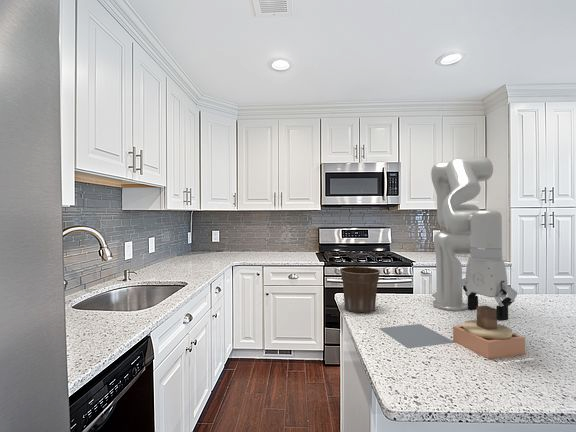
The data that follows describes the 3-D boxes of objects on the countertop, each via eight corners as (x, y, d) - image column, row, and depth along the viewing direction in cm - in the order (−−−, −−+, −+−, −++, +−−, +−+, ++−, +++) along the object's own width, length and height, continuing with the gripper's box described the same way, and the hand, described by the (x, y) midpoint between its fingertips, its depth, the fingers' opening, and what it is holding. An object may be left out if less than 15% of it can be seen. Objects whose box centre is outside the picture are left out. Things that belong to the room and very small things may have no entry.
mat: (378, 330, 101) (378, 328, 101) (420, 325, 105) (420, 323, 105) (407, 350, 86) (407, 348, 86) (455, 344, 89) (455, 342, 89)
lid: (453, 326, 90) (453, 303, 90) (486, 322, 93) (485, 300, 93) (487, 341, 79) (487, 315, 79) (523, 337, 81) (523, 312, 81)
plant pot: (387, 308, 125) (387, 269, 125) (369, 318, 113) (369, 274, 113) (352, 301, 136) (352, 265, 136) (332, 309, 124) (332, 270, 124)
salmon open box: (453, 342, 90) (453, 326, 90) (486, 338, 93) (486, 322, 93) (488, 361, 79) (488, 342, 79) (525, 356, 81) (524, 337, 81)
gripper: (451, 251, 93) (452, 307, 93) (503, 258, 77) (504, 326, 77) (471, 250, 95) (472, 305, 95) (527, 257, 78) (527, 323, 78)
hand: (486, 314), depth 86 cm, fingers open, 9 cm apart
